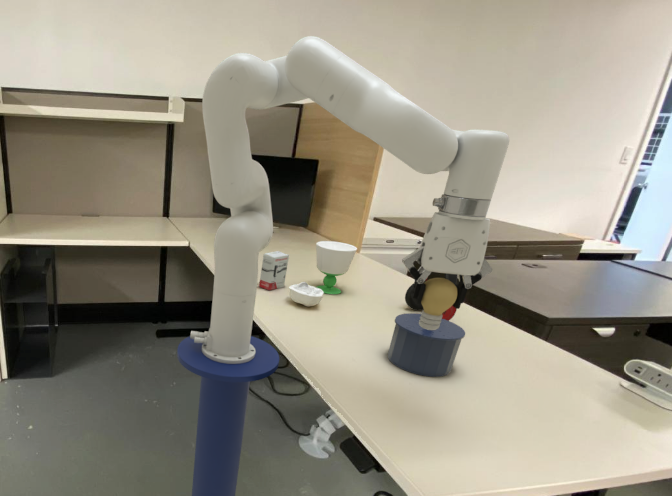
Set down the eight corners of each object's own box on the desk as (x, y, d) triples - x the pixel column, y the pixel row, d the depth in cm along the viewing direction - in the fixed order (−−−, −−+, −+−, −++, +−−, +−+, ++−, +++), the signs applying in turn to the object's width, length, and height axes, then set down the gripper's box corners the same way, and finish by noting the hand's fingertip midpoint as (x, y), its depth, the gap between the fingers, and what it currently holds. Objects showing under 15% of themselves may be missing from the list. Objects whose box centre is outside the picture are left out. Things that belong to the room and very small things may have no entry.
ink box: (269, 291, 158) (274, 256, 153) (258, 287, 161) (262, 253, 157) (284, 286, 164) (289, 253, 159) (273, 283, 167) (278, 250, 162)
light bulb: (432, 321, 94) (446, 273, 90) (453, 334, 88) (469, 284, 84) (404, 321, 93) (417, 273, 89) (423, 334, 87) (438, 283, 83)
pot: (396, 372, 109) (406, 336, 105) (381, 346, 122) (390, 313, 118) (460, 380, 108) (472, 343, 104) (438, 352, 122) (448, 319, 118)
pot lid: (404, 339, 105) (409, 320, 103) (387, 314, 119) (391, 297, 117) (475, 346, 104) (481, 328, 102) (449, 321, 118) (454, 304, 116)
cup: (356, 293, 163) (365, 249, 156) (329, 298, 156) (338, 252, 149) (326, 282, 173) (334, 239, 166) (300, 286, 166) (307, 242, 159)
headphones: (398, 306, 154) (414, 246, 146) (427, 307, 155) (444, 248, 146) (423, 327, 138) (442, 261, 130) (455, 328, 139) (476, 263, 130)
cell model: (300, 312, 142) (304, 291, 139) (281, 298, 152) (284, 278, 149) (328, 310, 145) (332, 289, 142) (307, 297, 155) (311, 277, 152)
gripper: (419, 206, 78) (393, 306, 86) (526, 215, 77) (490, 316, 85) (407, 200, 85) (384, 293, 93) (505, 209, 84) (474, 302, 91)
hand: (435, 303), depth 89 cm, fingers closed on light bulb, 6 cm apart
